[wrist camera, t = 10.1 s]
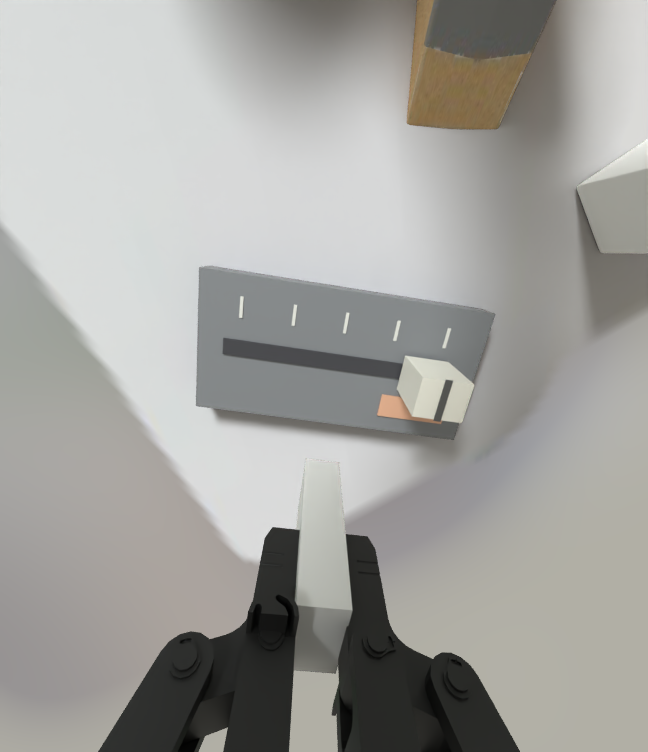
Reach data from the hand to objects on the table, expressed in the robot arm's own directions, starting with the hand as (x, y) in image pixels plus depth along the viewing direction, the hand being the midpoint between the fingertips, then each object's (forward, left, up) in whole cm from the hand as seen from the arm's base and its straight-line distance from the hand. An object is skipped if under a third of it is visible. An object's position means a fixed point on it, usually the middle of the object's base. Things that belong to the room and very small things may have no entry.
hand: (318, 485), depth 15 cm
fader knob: (0, +10, -19) cm, 22 cm away
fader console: (0, +2, -22) cm, 22 cm away
